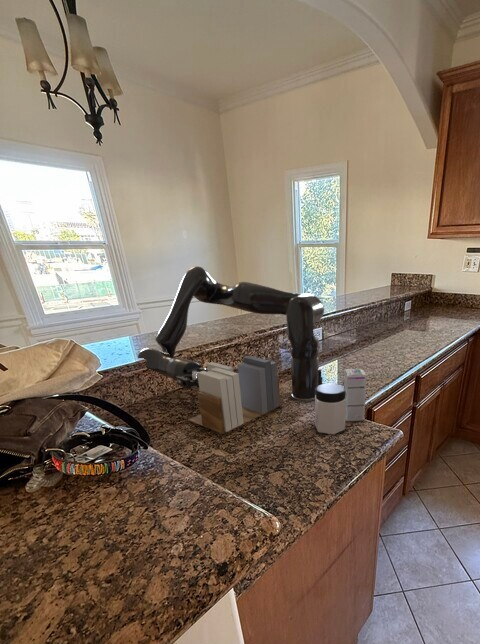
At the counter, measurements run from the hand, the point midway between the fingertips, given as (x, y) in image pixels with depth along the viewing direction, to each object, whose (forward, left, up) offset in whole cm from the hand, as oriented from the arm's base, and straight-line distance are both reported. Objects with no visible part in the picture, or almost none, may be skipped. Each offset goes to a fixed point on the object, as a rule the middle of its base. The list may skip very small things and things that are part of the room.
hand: (218, 381), depth 103 cm
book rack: (-4, +3, -11) cm, 12 cm away
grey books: (-11, +3, -10) cm, 15 cm away
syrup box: (-33, +23, -11) cm, 42 cm away
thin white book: (-1, +1, -10) cm, 10 cm away
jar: (-23, +25, -11) cm, 36 cm away
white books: (+2, +8, -10) cm, 13 cm away
